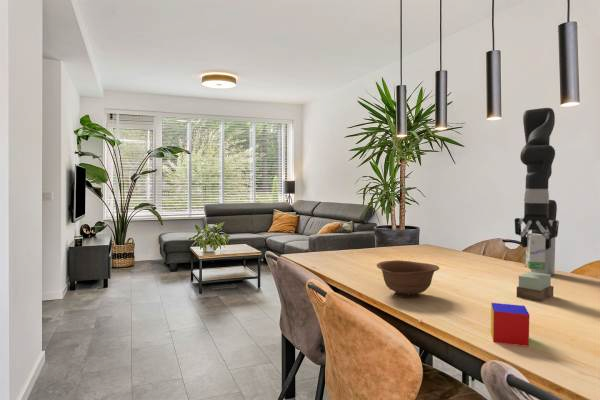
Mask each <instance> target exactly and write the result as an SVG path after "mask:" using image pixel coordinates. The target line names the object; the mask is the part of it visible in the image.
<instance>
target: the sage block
mask: <svg viewBox="0 0 600 400" xmlns="http://www.w3.org/2000/svg"><path fill="white" fill-rule="evenodd" d="M551 276H552V275H548V274H541V273H534V272H531V271H529V272H526V273H522V274H520V275H518V286H519V287H522V288H528V289H533V290H539V291H541V290H543V289H545V288H547V287H549V286H552V284H551V283H552V278H551Z"/></svg>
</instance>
